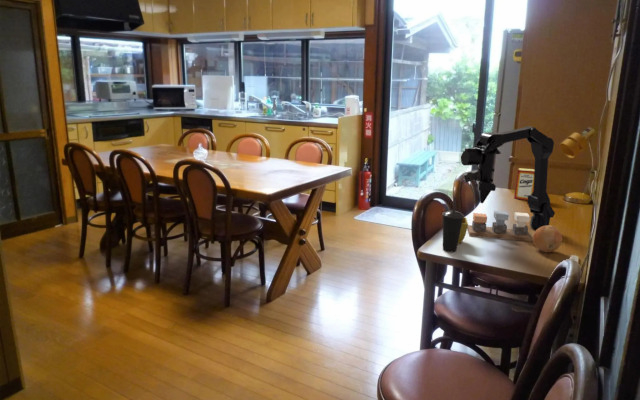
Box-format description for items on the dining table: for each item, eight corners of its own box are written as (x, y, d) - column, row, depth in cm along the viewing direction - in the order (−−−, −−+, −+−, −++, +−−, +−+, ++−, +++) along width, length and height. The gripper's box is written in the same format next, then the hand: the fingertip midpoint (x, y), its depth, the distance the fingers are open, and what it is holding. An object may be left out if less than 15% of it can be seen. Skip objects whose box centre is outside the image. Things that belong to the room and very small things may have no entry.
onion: (551, 246, 182) (555, 221, 180) (565, 256, 173) (569, 230, 170) (526, 246, 182) (530, 221, 179) (539, 255, 172) (543, 229, 170)
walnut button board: (526, 233, 197) (528, 223, 196) (532, 241, 188) (534, 230, 186) (466, 228, 201) (468, 218, 200) (469, 235, 192) (470, 225, 191)
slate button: (504, 224, 195) (506, 211, 194) (506, 227, 191) (508, 214, 189) (492, 223, 196) (494, 210, 195) (494, 226, 192) (496, 213, 190)
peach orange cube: (484, 226, 197) (485, 214, 196) (485, 229, 193) (487, 217, 191) (472, 225, 198) (473, 213, 197) (473, 228, 193) (474, 216, 192)
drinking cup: (436, 246, 179) (441, 194, 174) (455, 246, 179) (461, 194, 174) (442, 253, 171) (448, 200, 166) (463, 253, 172) (469, 200, 167)
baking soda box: (514, 198, 256) (518, 169, 252) (514, 195, 261) (518, 167, 257) (533, 200, 252) (537, 171, 248) (533, 198, 258) (538, 169, 254)
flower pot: (465, 246, 180) (468, 223, 177) (441, 244, 181) (444, 221, 179) (463, 239, 188) (466, 217, 186) (441, 236, 190) (443, 215, 187)
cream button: (525, 225, 194) (527, 213, 192) (528, 229, 189) (530, 216, 188) (513, 224, 195) (514, 212, 193) (515, 228, 190) (517, 215, 189)
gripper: (463, 159, 199) (459, 195, 203) (467, 167, 181) (463, 207, 185) (491, 161, 197) (486, 198, 201) (498, 169, 179) (493, 209, 183)
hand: (481, 202), depth 193 cm, fingers closed
